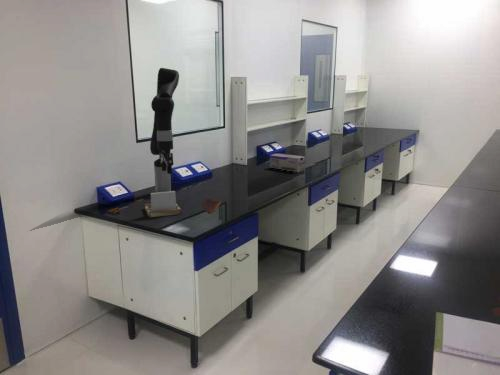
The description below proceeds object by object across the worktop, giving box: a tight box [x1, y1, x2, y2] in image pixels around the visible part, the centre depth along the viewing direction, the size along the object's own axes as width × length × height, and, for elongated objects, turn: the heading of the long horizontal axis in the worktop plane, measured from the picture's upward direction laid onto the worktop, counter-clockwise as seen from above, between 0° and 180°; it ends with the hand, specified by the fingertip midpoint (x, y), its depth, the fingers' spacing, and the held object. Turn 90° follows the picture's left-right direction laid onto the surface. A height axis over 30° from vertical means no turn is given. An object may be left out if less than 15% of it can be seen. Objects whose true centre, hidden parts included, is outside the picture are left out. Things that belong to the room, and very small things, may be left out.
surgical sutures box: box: [269, 152, 306, 173], centre depth 324 cm, size 25×11×11 cm, turn 53°
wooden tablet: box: [200, 198, 223, 215], centre depth 231 cm, size 26×2×10 cm
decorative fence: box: [106, 198, 145, 215], centre depth 229 cm, size 25×2×10 cm
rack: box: [144, 203, 182, 218], centre depth 218 cm, size 15×16×4 cm
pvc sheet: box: [150, 190, 177, 211], centre depth 213 cm, size 2×12×11 cm, turn 111°
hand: (166, 172), depth 210 cm, fingers open, 8 cm apart
